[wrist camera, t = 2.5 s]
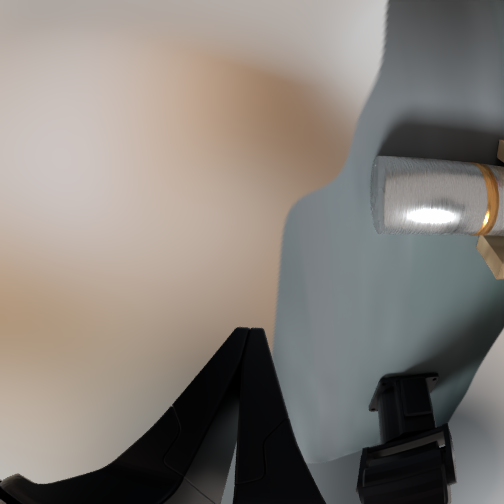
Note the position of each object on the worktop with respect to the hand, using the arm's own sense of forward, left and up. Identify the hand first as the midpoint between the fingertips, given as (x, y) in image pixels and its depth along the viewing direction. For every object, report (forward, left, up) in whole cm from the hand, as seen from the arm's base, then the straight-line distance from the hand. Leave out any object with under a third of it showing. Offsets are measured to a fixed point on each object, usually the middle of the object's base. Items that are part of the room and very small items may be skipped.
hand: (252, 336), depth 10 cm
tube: (0, -11, -10) cm, 15 cm away
